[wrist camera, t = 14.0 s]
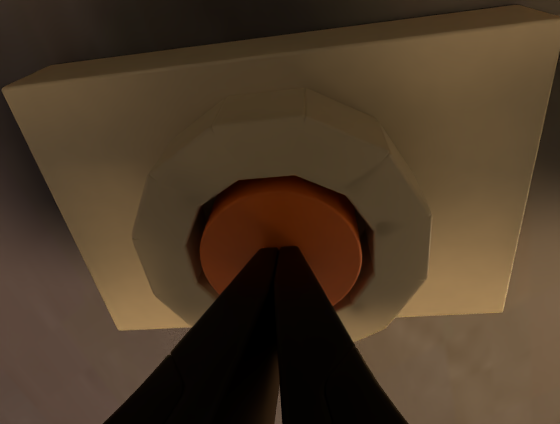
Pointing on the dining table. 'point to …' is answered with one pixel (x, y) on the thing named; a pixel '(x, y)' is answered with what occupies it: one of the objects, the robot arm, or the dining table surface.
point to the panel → (304, 155)
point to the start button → (283, 231)
